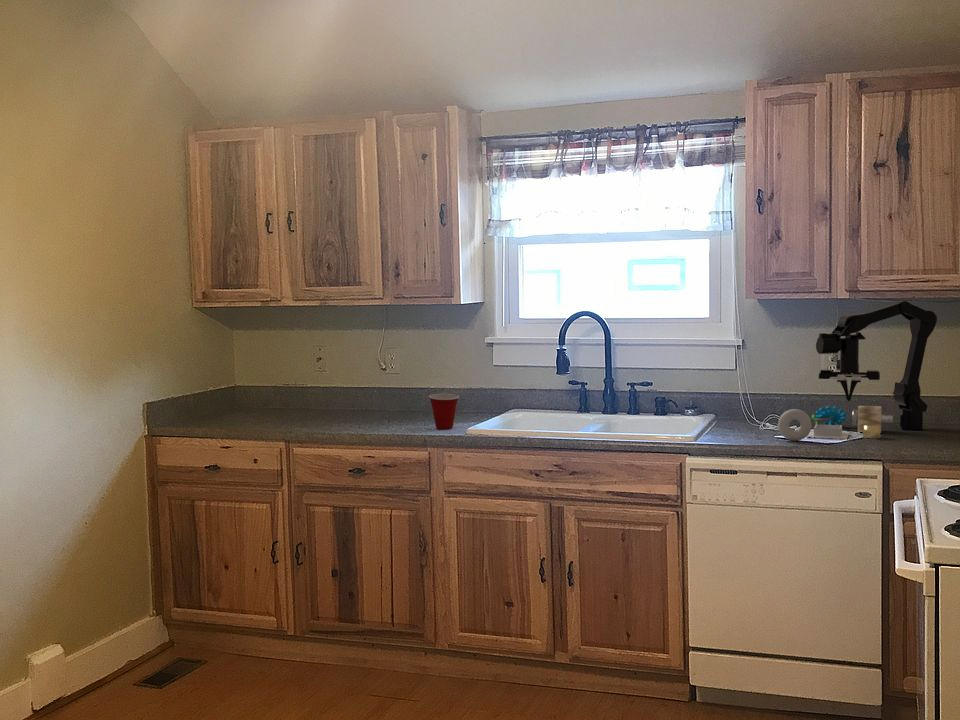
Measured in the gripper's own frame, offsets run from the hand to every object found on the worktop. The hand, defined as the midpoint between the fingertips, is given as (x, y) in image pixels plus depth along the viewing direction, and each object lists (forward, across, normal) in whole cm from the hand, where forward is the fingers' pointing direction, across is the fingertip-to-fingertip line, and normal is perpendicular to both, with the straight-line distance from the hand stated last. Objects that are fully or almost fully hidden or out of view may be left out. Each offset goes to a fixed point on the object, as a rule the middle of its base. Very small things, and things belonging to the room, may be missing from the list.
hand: (848, 400), depth 328 cm
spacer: (+10, -7, +14) cm, 19 cm away
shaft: (+8, -7, 0) cm, 11 cm away
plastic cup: (+11, +133, +30) cm, 136 cm away
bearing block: (+10, -6, 0) cm, 12 cm away
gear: (+10, +7, -9) cm, 15 cm away
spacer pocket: (+10, +6, +14) cm, 18 cm away
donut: (+10, +15, +27) cm, 32 cm away
